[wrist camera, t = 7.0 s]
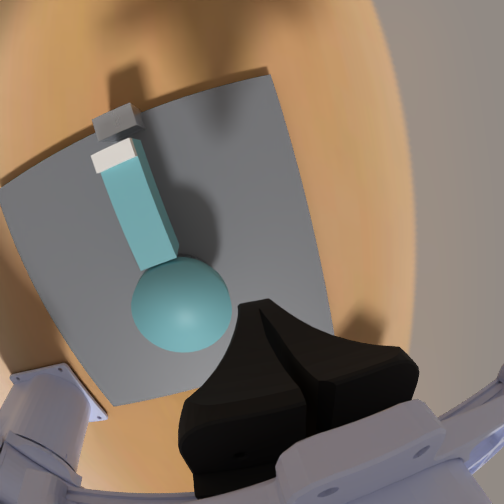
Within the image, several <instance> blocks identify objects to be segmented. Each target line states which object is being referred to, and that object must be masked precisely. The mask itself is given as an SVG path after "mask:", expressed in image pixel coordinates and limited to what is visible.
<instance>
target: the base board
mask: <svg viewBox="0 0 504 504" xmlns="http://www.w3.org/2000/svg"><path fill="white" fill-rule="evenodd" d="M141 114H142V117H143V121H144V124H145V127H146V129H145V130H142V131H140V132H138V133H135V134H133V135H130V136H128V137H125V138H123V139H121V140H118V141H116V142H114V143H108V142H98V139H97V135H96V133H94V134H91V135H89V136H87V137H85V138H83V139H81V140H79V141H78V142H76V143H74V144H72V145H70V146H68V147H66V148H64V149H62V150H61V151H59V152H57V153H55V154H54V155H52V156H50V157H48V158H47V159H45V160H43V161H41V162H40V163H38V164H37V165H35V166H33V167H32V168H30V169H28V170H27V171H25V172H24V173H22V174H21V175H19V176H18V177H16V178H15V179H13V180H12V181H10V182H9V183H7V184H6V185H4V186H3V187H1V188H0V205H1V208H2V211H3V214H4V217H5V219H6V222H7V225H8V228H9V230H10V233H11V235H12V238H13V240H14V243H15V245H16V248H17V250H18V252H19V255H20V257H21V259H22V261H23V264H24V266H25V268H26V270H27V272H28V274H29V276H30V279H31V281H32V283H33V285H34V287H35V289H36V291H37V292H38V294H39V296H40V298H41V300H42V302H43V304H44V306H45V307H46V309H47V311H48V313H49V314H50V316H51V318H52V320H53V321H54V323H55V325H56V326H57V328H58V330H59V331H60V333H61V334H62V336H63V338H64V339H65V341H66V342H67V344H68V345H69V347H70V348H71V350H72V352H73V353H74V354H75V356H76V357H77V359H78V360H79V362H80V363H81V365H82V366H83V367H84V369H85V370H86V372H87V373H88V374H89V376H90V377H91V378H92V380H93V381H94V382H95V384H96V385H97V386H98V388H99V389H100V390H101V391H102V393H103V394H104V395H105V396H106V398H107V399H108V400H109V401H110V403H111V404H112V405H113V406H119V405H125V404H130V403H135V402H140V401H145V400H150V399H154V398H159V397H163V396H167V395H172V394H176V393H180V392H184V391H188V390H191V389H195V388H199V387H201V386H202V385H203V384H204V383H205V381H206V380H207V379H208V378H209V377H210V376H211V374H212V373H213V372H214V370H215V369H216V368H217V366H218V364H219V363H220V361H221V360H222V358H223V356H224V354H225V352H226V350H227V348H228V346H229V344H230V341H231V339H232V336H233V333H234V330H235V326H236V322H237V316H238V308H237V306H238V305H239V304H240V303H246V302H251V301H257V300H262V299H267V298H269V299H271V300H272V301H273V302H275V303H276V304H277V305H279V306H280V307H281V308H283V309H284V310H286V311H287V312H289V313H290V314H292V315H293V316H295V317H296V318H298V319H300V320H301V321H303V322H305V323H307V324H309V325H310V326H312V327H314V328H317V329H319V330H321V331H324V332H326V333H329V334H331V335H334V330H333V324H332V319H331V313H330V308H329V302H328V297H327V292H326V287H325V282H324V277H323V272H322V267H321V262H320V257H319V253H318V248H317V243H316V239H315V235H314V230H313V226H312V222H311V217H310V213H309V209H308V205H307V201H306V197H305V193H304V189H303V185H302V181H301V177H300V173H299V169H298V166H297V162H296V158H295V155H294V151H293V147H292V144H291V140H290V137H289V133H288V130H287V126H286V123H285V120H284V116H283V113H282V110H281V106H280V103H279V100H278V97H277V93H276V90H275V87H274V84H273V81H272V78H271V75H265V76H260V77H256V78H251V79H247V80H243V81H239V82H234V83H231V84H227V85H223V86H219V87H216V88H212V89H209V90H205V91H202V92H199V93H195V94H192V95H189V96H186V97H183V98H180V99H177V100H174V101H171V102H168V103H165V104H162V105H160V106H157V107H154V108H152V109H149V110H146V111H144V112H141ZM127 138H133V139H138V140H141V143H142V146H143V149H144V152H145V155H146V158H147V160H148V163H149V166H150V169H151V172H152V175H153V177H154V180H155V183H156V186H157V188H158V191H159V194H160V196H161V199H162V202H163V204H164V207H165V210H166V212H167V215H168V217H169V220H170V222H171V225H172V228H173V230H174V233H175V235H176V238H177V240H178V243H179V248H178V254H179V253H186V254H191V255H194V256H197V257H199V258H200V259H202V260H203V261H204V262H206V264H208V265H209V266H211V267H212V268H213V269H214V270H216V271H217V272H218V273H219V275H220V276H221V277H222V279H223V280H224V282H225V284H226V286H227V288H228V292H229V296H230V300H231V305H232V315H231V320H230V324H229V326H228V328H227V330H226V331H225V333H224V334H223V335H222V337H221V338H220V339H219V340H218V341H216V342H215V343H214V344H212V345H211V346H209V347H207V348H204V349H202V350H199V351H195V352H185V353H181V352H173V351H169V350H165V349H163V348H160V347H158V346H156V345H154V344H153V343H151V342H150V341H149V340H147V339H146V338H145V337H144V336H143V335H142V334H141V332H140V331H139V330H138V328H137V326H136V324H135V322H134V320H133V317H132V311H131V301H132V296H133V293H134V290H135V288H136V286H137V283H138V281H139V279H140V277H141V276H142V274H143V273H144V272H145V271H146V270H147V269H148V268H147V269H145V270H142V271H141V270H140V268H139V266H138V264H137V262H136V259H135V257H134V255H133V253H132V251H131V248H130V246H129V244H128V241H127V239H126V237H125V234H124V232H123V230H122V227H121V225H120V222H119V220H118V218H117V215H116V213H115V210H114V208H113V205H112V202H111V200H110V197H109V195H108V192H107V189H106V187H105V184H104V181H103V178H102V176H101V173H96V170H95V167H94V164H93V161H92V158H91V155H93V154H95V153H97V152H99V151H101V150H103V149H105V148H107V147H109V146H111V145H114V144H116V143H118V142H120V141H122V140H125V139H127Z"/></svg>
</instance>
